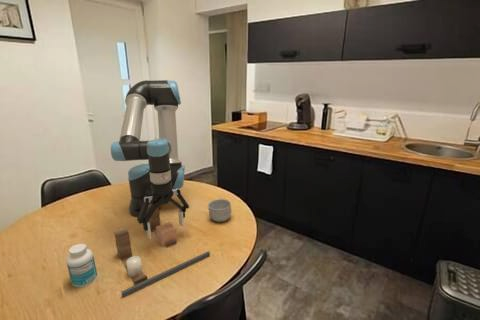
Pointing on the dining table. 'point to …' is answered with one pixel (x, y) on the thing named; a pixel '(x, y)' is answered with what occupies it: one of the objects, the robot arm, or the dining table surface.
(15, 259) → the dining table surface
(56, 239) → the dining table surface
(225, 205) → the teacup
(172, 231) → the cube
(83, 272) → the pill bottle
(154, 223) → the brown l-shaped block
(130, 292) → the bar
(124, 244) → the brown l-shaped bracket
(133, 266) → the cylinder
